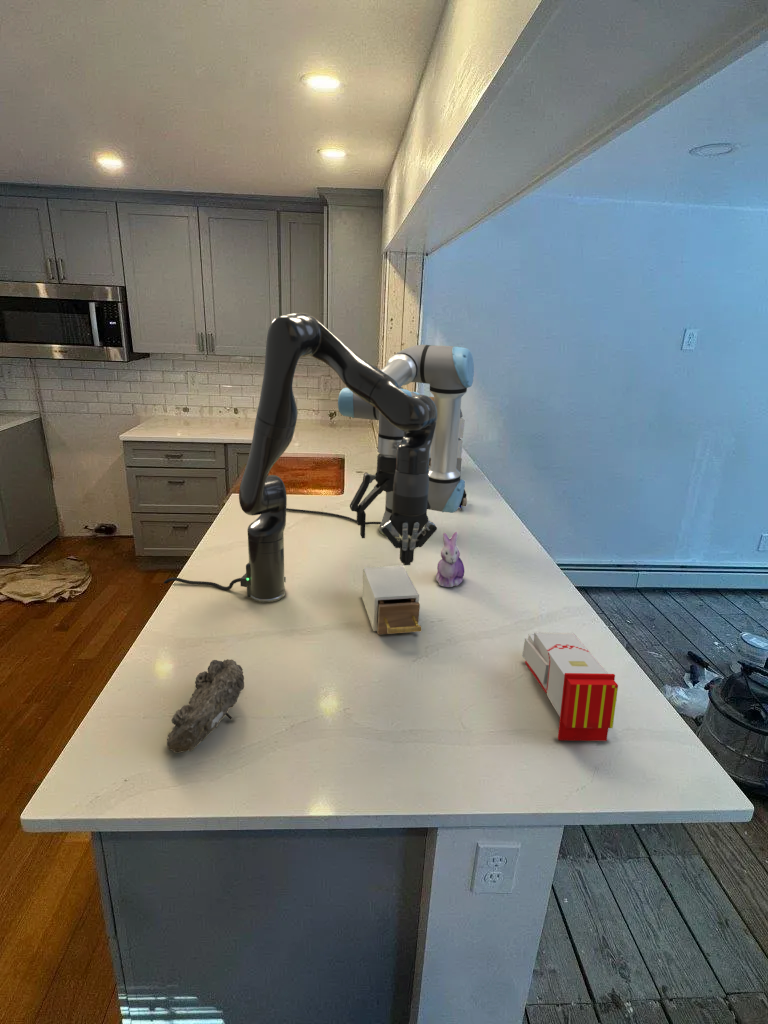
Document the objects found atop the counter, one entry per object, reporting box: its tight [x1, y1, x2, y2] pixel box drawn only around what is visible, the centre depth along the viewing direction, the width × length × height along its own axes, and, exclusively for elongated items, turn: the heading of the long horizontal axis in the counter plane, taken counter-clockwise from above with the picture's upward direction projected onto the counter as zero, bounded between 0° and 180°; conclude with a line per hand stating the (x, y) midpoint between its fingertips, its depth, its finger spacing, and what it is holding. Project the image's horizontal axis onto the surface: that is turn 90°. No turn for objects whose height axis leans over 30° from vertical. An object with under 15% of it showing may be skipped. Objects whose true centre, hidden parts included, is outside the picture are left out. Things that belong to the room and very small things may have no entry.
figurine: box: [435, 531, 465, 588], centre depth 164 cm, size 9×10×15 cm
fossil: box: [166, 658, 245, 754], centre depth 106 cm, size 22×10×15 cm
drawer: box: [376, 598, 422, 635], centre depth 140 cm, size 22×10×8 cm, turn 12°
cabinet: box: [361, 564, 420, 632], centre depth 146 cm, size 17×11×9 cm, turn 12°
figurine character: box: [458, 488, 468, 511], centre depth 230 cm, size 7×8×15 cm
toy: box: [522, 631, 619, 742], centre depth 117 cm, size 12×13×30 cm
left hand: (406, 563), depth 127 cm, fingers closed
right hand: (388, 535), depth 144 cm, fingers open, 13 cm apart
